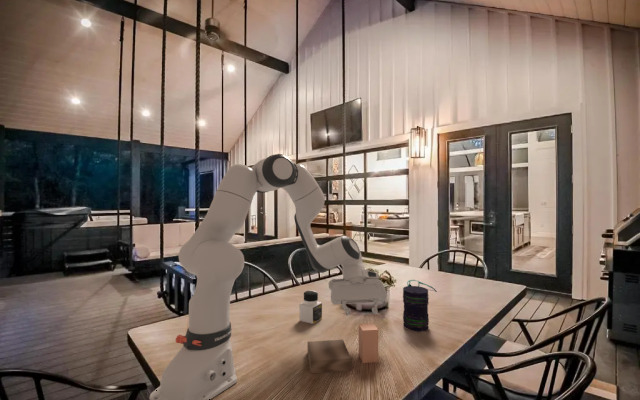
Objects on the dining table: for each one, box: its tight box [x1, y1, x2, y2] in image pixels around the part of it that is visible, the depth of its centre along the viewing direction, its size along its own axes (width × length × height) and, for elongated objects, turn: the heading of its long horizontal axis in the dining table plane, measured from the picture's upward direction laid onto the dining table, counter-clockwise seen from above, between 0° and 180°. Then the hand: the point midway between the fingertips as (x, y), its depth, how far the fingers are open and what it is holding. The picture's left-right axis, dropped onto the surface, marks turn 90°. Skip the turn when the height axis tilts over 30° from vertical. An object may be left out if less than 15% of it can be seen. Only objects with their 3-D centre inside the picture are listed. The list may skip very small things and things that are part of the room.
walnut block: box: [307, 339, 352, 374], centre depth 91 cm, size 12×12×4 cm
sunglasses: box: [406, 279, 438, 297], centre depth 164 cm, size 14×15×5 cm
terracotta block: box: [358, 322, 379, 364], centre depth 92 cm, size 5×5×10 cm
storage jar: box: [402, 285, 430, 333], centre depth 116 cm, size 10×10×15 cm
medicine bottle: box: [298, 289, 323, 325], centre depth 123 cm, size 7×7×12 cm
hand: (362, 313), depth 100 cm, fingers open, 8 cm apart
